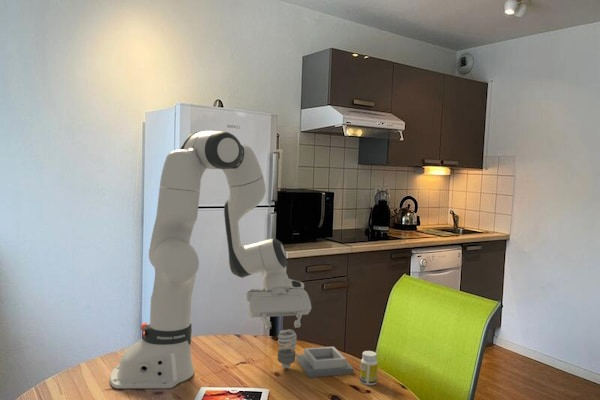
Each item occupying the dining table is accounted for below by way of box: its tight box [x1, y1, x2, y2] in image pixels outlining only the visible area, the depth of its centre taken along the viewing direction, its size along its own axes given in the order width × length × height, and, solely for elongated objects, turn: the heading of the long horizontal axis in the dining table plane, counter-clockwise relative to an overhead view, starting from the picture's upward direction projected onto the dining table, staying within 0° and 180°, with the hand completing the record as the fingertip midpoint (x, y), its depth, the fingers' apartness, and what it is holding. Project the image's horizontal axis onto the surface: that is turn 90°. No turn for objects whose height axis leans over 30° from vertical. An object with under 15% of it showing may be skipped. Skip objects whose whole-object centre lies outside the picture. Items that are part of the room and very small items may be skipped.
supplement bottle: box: [359, 350, 379, 386], centre depth 130 cm, size 5×5×8 cm
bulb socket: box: [295, 346, 354, 378], centre depth 140 cm, size 14×13×4 cm
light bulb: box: [277, 328, 298, 370], centre depth 136 cm, size 6×6×12 cm
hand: (283, 327), depth 141 cm, fingers open, 8 cm apart
